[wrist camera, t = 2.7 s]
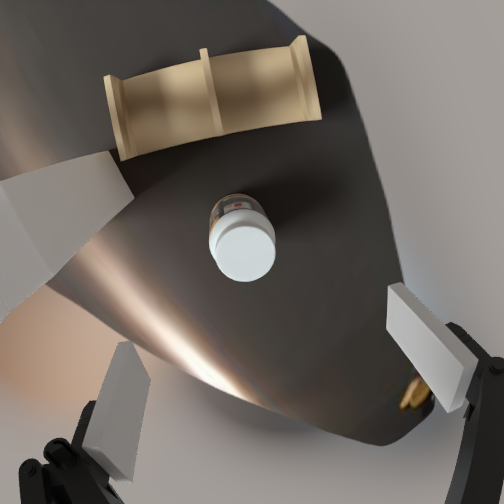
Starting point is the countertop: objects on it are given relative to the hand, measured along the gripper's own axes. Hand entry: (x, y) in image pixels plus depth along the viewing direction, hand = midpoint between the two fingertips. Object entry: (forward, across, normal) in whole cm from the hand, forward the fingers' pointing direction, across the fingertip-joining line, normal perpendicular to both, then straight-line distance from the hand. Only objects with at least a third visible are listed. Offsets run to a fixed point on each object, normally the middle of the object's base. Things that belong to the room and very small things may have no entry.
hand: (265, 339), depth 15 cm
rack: (+20, 0, +14) cm, 24 cm away
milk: (+20, -14, +7) cm, 26 cm away
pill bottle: (+20, 0, 0) cm, 20 cm away
